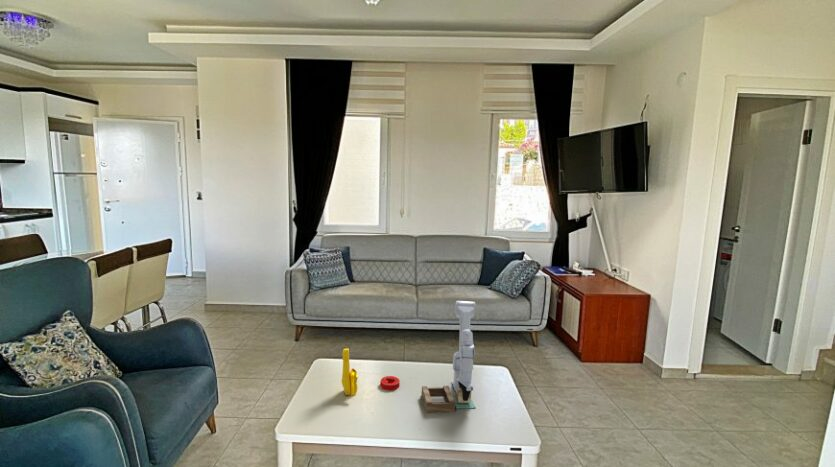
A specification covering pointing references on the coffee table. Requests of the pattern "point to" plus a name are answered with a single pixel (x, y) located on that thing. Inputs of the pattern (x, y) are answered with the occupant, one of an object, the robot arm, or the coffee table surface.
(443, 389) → the slotted box
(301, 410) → the coffee table surface
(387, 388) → the decorative ornament
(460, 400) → the maple block
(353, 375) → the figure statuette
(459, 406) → the teal mat
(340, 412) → the coffee table surface
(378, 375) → the coffee table surface
